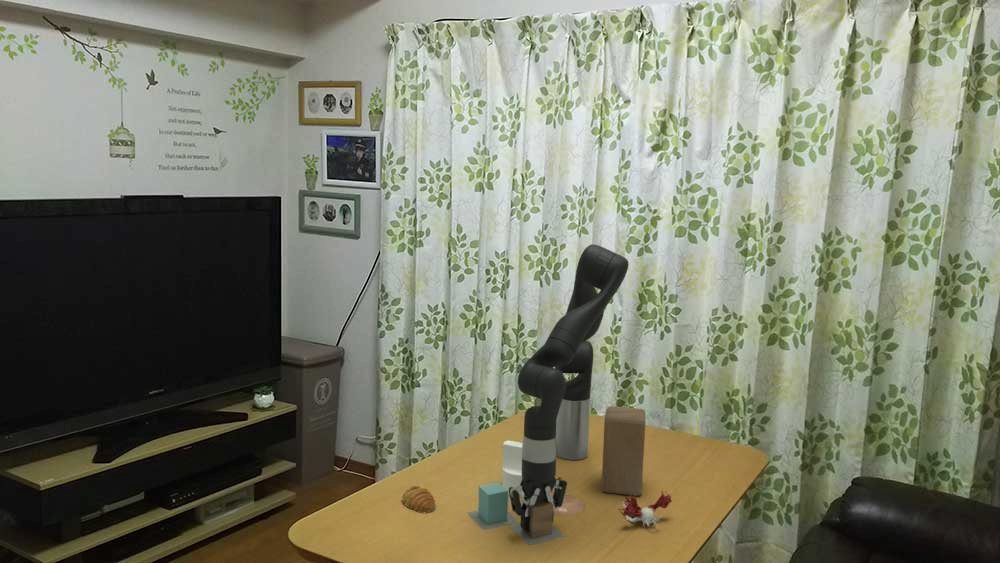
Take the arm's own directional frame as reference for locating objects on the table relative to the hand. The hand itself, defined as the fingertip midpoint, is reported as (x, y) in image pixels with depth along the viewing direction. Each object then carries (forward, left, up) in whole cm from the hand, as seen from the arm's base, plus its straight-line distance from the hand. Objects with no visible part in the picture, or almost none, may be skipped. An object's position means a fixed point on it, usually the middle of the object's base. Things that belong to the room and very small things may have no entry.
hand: (536, 527), depth 159 cm
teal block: (-10, -6, -1) cm, 12 cm away
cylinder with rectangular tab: (-21, +7, -2) cm, 22 cm away
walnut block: (0, 0, -1) cm, 1 cm away
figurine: (+5, +25, -2) cm, 26 cm away
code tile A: (0, 0, -1) cm, 1 cm away
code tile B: (-10, -6, -1) cm, 12 cm away
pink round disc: (-9, +12, -1) cm, 15 cm away
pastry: (-24, -19, -2) cm, 30 cm away
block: (-12, +32, -2) cm, 34 cm away
